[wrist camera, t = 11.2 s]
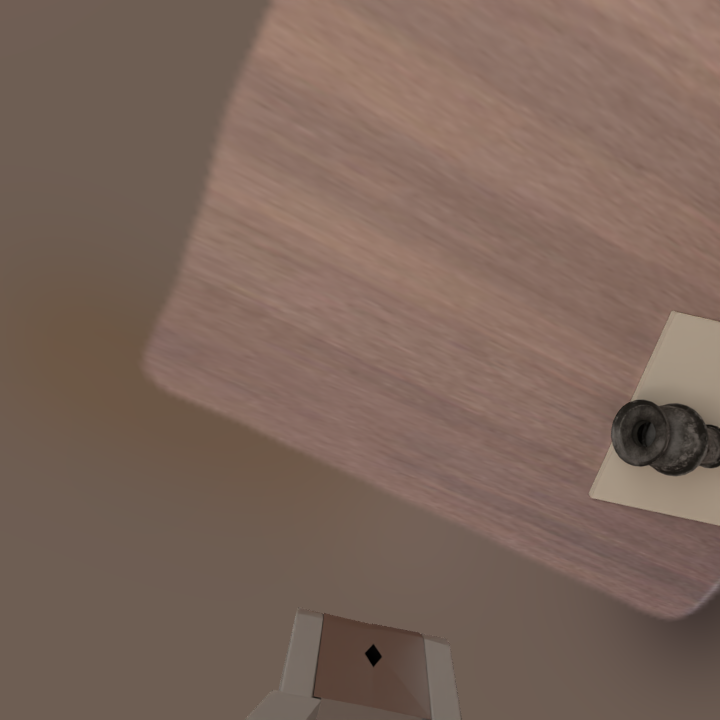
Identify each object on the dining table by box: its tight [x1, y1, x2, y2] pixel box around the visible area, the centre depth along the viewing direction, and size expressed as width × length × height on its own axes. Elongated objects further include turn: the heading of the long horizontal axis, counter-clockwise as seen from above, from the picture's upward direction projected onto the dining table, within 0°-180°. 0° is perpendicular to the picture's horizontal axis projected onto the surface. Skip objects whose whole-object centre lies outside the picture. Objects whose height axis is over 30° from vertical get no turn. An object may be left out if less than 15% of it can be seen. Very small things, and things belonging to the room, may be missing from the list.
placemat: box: [589, 311, 720, 526], centre depth 41 cm, size 18×14×1 cm
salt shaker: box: [611, 400, 720, 476], centre depth 38 cm, size 6×6×12 cm
